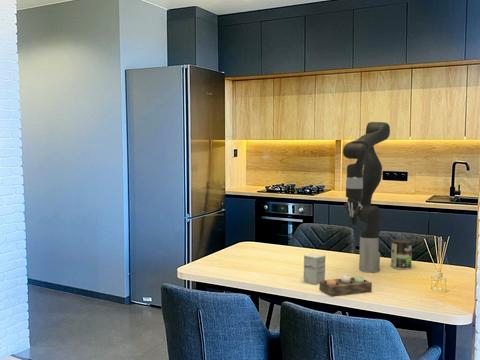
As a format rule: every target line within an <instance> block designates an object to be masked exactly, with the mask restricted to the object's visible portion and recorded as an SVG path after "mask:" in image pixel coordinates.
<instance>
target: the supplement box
mask: <svg viewBox="0 0 480 360" xmlns="http://www.w3.org/2000/svg"><path fill="white" fill-rule="evenodd" d="M323 280H326V255H325V254H320V253H314V252H311V253H307V254H304V255H303V282H304V283H309V284H313V285H319V281H323Z"/></svg>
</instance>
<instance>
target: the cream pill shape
mask: <svg viewBox="0 0 480 360" xmlns="http://www.w3.org/2000/svg"><path fill="white" fill-rule="evenodd" d="M350 278H351V276H350V275H349V274H340V279H341V283H343V284H348V283H350Z"/></svg>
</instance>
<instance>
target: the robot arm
mask: <svg viewBox="0 0 480 360" xmlns="http://www.w3.org/2000/svg"><path fill="white" fill-rule="evenodd" d="M390 134H391V127H390V124H389V123H388V122H385V121H384V122H381V121H371V122H370V121H369V122H367V125H366V128H365V134H363V135H361V136H360V137H359V138H358V139H356V140H352V141H350V142H348V143H346V144H345V145H344V147H343V150H342V154H343V156H344V157H345V158H346V159H349V160H351V159H353V160H356V162H355V163H349V164H348V165H347V167H346V181H345V197H346V198H347V199H346V203H345V202H344V208H345V210H346V213H347V215H349V217H350V225H351V226H356V225H358V224H357V223H358V221H359V222H360V223H363V224H364V223H365V224H366V228H365V229H362V230H360V232H359V259H358V260H359V267H358V270H359V271H361V272H362V273H363V272H365V273H377V272H380V271H381V270H380V269H381V266H380V265H381V264H380V263H381V252H380V251H379V245H380V244H379V241H380V239H379V238H380V236H379V235H380V233H381V228H382V210H381V209H380V207H378V206H377V205H372V198H373V194H374V193H375V191H376V189H377V188H378V186H379V185H380V183H381V180H382V175H383V165H382V163H381V160H380V159H379V156H378V155H377V153H376V150H375V146H376V145H377V144H379V143H382V142H383V141H387V139H389V137H390Z"/></svg>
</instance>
